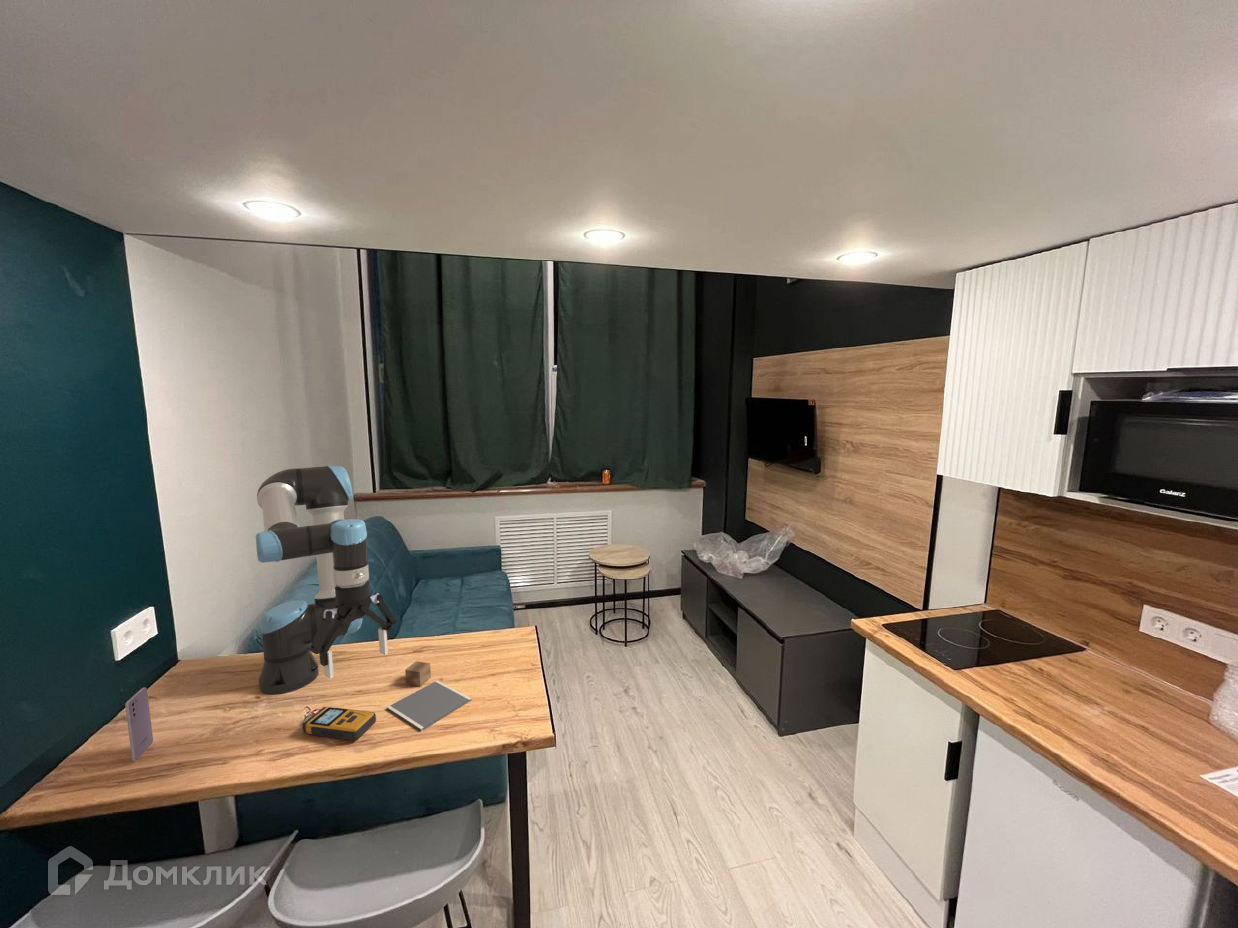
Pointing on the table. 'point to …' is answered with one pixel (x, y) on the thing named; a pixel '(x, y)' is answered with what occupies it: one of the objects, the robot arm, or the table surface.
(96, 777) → the table surface
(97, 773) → the table surface
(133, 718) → the smartphone
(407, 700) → the mat
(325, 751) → the table surface
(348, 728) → the electronic device
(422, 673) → the walnut block
